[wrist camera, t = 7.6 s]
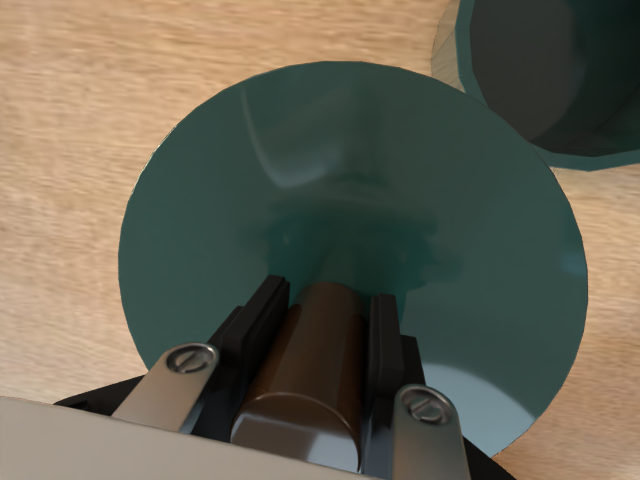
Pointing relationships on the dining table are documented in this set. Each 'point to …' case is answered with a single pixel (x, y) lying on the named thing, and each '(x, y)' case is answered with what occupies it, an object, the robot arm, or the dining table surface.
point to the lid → (359, 250)
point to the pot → (551, 73)
